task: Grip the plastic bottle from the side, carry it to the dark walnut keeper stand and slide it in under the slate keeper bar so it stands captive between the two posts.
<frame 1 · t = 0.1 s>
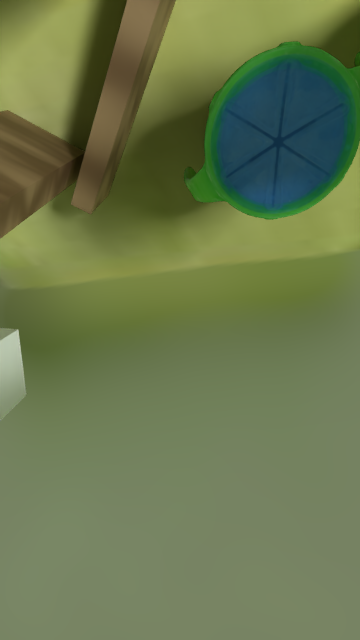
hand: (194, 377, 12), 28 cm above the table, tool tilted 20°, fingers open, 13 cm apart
snack cup: (265, 124, 31), on the table
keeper: (68, 29, 28), on the table
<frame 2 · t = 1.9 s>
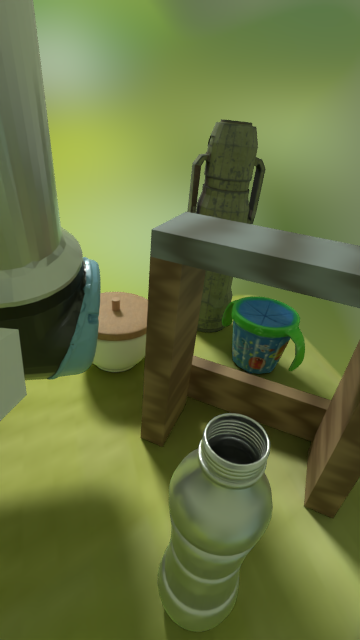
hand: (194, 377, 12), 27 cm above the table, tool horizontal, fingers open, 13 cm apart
lidded bowl: (116, 359, 54), on the table
thermos: (204, 321, 67), on the table
plastic bottle: (193, 591, 28), on the table
snack cup: (252, 362, 57), on the table
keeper: (237, 448, 41), on the table
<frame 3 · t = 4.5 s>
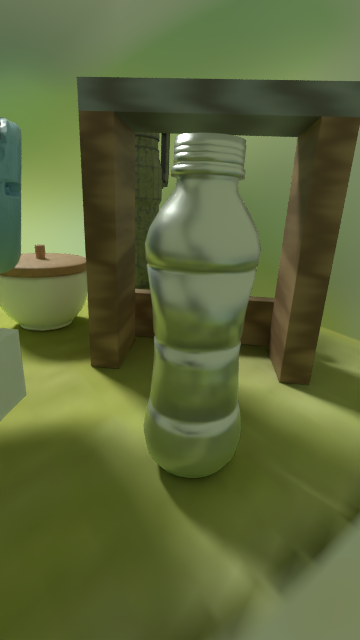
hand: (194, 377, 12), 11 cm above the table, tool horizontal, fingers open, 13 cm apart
lidded bowl: (46, 323, 48), on the table
thermos: (136, 294, 65), on the table
plastic bottle: (189, 458, 23), on the table
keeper: (198, 358, 38), on the table
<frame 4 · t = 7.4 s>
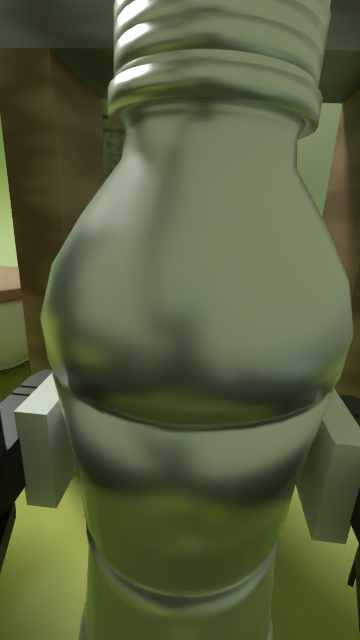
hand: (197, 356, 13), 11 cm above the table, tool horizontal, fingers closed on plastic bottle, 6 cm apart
thermos: (122, 313, 54), on the table
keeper: (195, 421, 27), on the table
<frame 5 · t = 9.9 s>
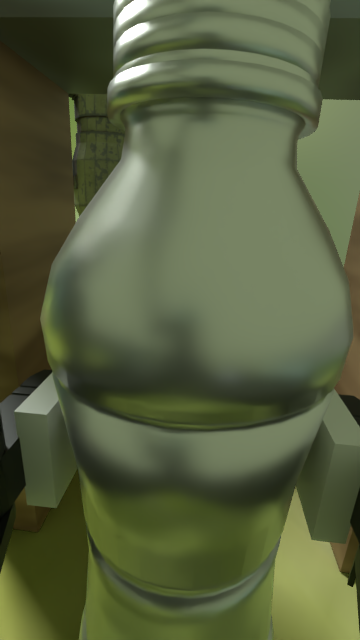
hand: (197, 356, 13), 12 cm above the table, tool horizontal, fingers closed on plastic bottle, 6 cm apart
thermos: (111, 333, 49), on the table
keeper: (188, 492, 22), on the table
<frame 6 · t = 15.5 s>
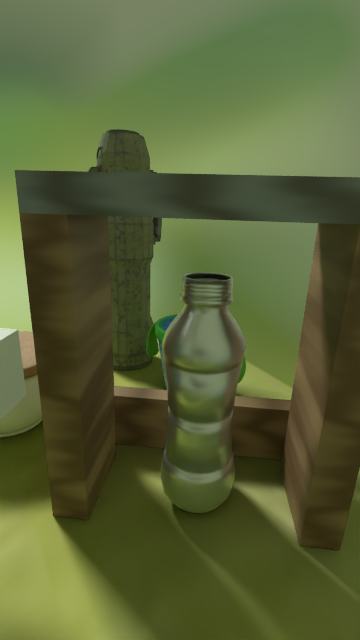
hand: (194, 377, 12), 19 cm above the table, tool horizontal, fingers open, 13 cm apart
lidded bowl: (13, 420, 40), on the table
thermos: (126, 360, 57), on the table
plastic bottle: (196, 495, 30), on the table
snack cup: (190, 390, 48), on the table
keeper: (193, 492, 30), on the table
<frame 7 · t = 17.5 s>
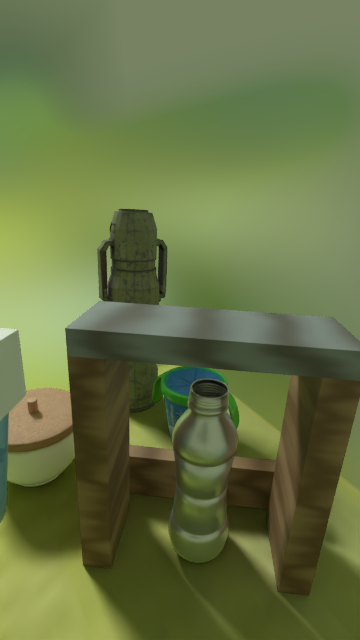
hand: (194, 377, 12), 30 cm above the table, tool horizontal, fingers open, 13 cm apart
lidded bowl: (40, 467, 47), on the table
thermos: (133, 400, 64), on the table
plastic bottle: (196, 544, 37), on the table
snack cup: (191, 434, 55), on the table
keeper: (195, 542, 37), on the table
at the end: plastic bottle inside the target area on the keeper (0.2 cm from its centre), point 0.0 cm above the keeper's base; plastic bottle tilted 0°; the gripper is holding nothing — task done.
